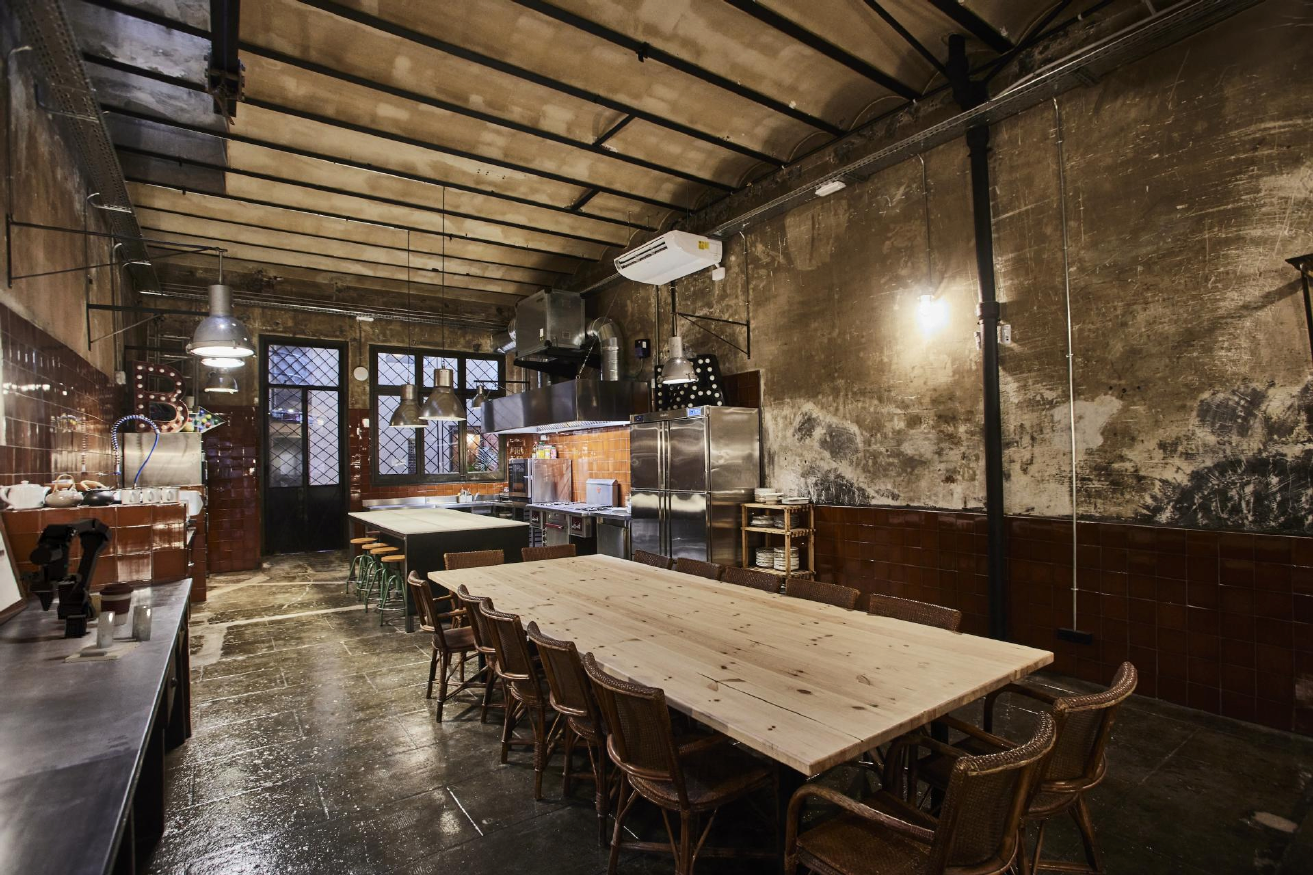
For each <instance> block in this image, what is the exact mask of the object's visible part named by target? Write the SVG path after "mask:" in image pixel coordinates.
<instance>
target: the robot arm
mask: <svg viewBox="0 0 1313 875" xmlns="http://www.w3.org/2000/svg"><path fill="white" fill-rule="evenodd" d="M40 534H41V535H40V536H39V538H38V540H37V543H36V546H37V548H35V549H34V550H32V551H31V552H30V554H29V557H28V558H29V561H30V562H31V564H33V565H35V566H41V568H40V570H37V571H31V570H25V571H22V572H21V574H20V575H19V580H18V581H20V582H22V583H23V585H24V586H25V585H28V584H29V585H28V587H27V591H28V592H30V594H34V595H36V596H37V597H38V599H39V602H40V605H41V608H42V610H43V612H48V611H49V610H50V608H51V606H53V603H54V600H55V598H56V596H57V595H58V596H57V597H58V605H57V607H56V615H57V620H58V621H65V623H64V634H63V635H61V636H59V639H73V638H76V639H77V638H84V637H86V636H87V635H89V634H91V633H92V631H87V630H88V629H87V626H88V620H87V619H89V618H94V616H95V611H96V610H95V608H94V606H93V605H92V603H91V602H92V598H91V596H90V595H91V594H90V587H91V585H92V581H93V579H94V574H95V572H96V568H97V565H98V561H99V559H100V556H101V553H102V552H104V551H105V550H106V549H107V548H108V547H109V545H110V542H111V541H112V540H113V537H114V536H113V535H114V533H113V531H112V529H111V528H110V526H108V525H107V524H105V523H103V522H101V520H100V518H98V517H82V518H80V519H76V520H73V521H70V522H67V523H48V524H47V525H46V527H44V528H43V530H42V532H41V533H40ZM77 537H78V539H79V540H80V542H79V544H80V547H81V549H82V550H83V551H82V555H81V558H80V560H79V563H78V567H77V570H76V573H70V567H72V566H73V562H70V559H71V547H72V546H73V545H74V544H73V542H74V540H75V539H76V538H77Z"/></svg>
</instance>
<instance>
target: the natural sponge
mask: <svg viewBox="0 0 1313 875" xmlns="http://www.w3.org/2000/svg"><path fill="white" fill-rule="evenodd" d="M90 596H91V598H92V602H91V603H92V605H93V606H94V608H95V610H96V611H95V616H94V618H89V619H87V621H95V620H98V615H99V613H101V595H100V594H90Z"/></svg>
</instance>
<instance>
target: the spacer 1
mask: <svg viewBox="0 0 1313 875" xmlns="http://www.w3.org/2000/svg"><path fill="white" fill-rule="evenodd" d="M114 619H115V612H114V611H108V612H101V613H99V615H98V618H97V630H96V643H95V644H96V648H97V649H103V648H109V647H112V646H113V642H114V632H115V631H114V629H115V626H114Z"/></svg>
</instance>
